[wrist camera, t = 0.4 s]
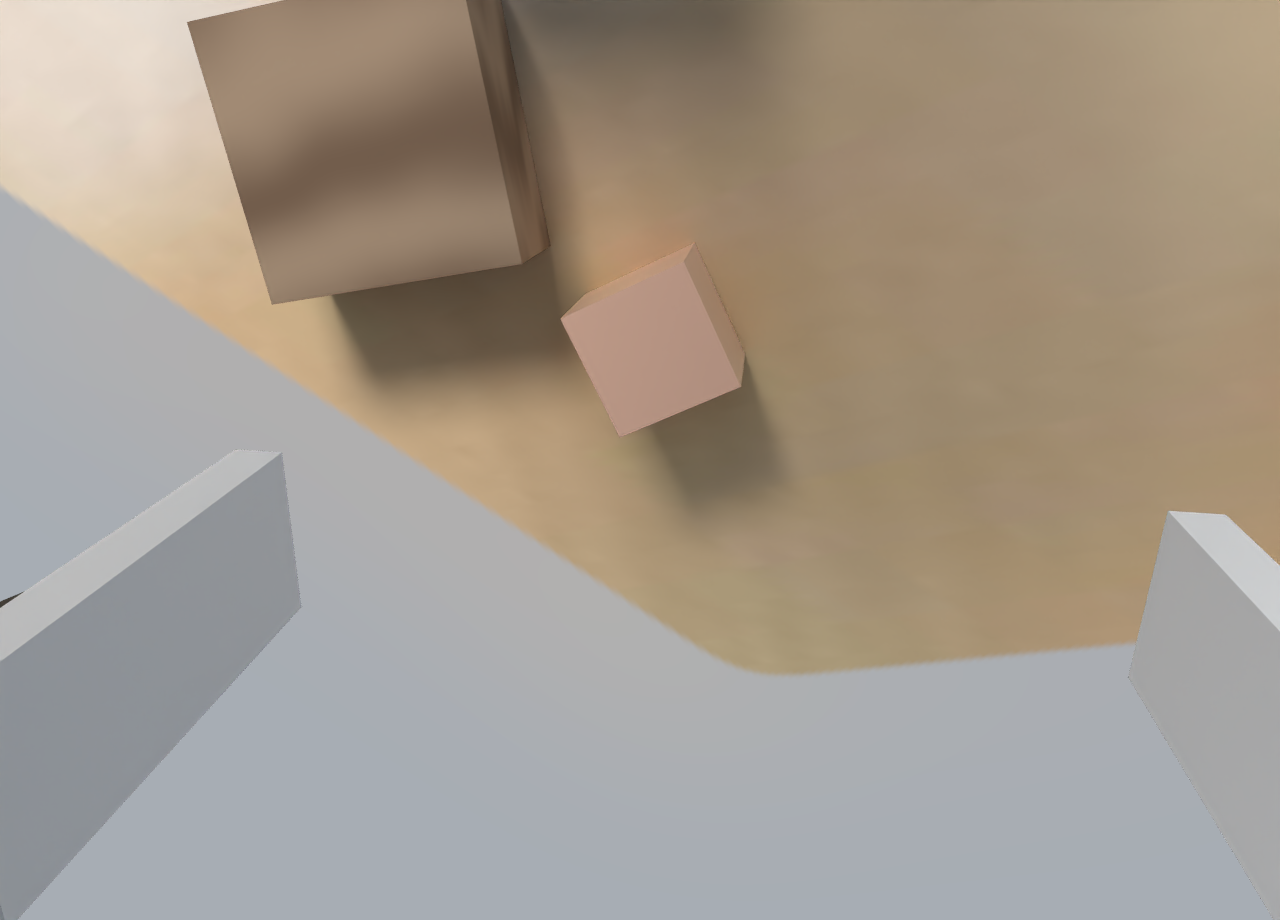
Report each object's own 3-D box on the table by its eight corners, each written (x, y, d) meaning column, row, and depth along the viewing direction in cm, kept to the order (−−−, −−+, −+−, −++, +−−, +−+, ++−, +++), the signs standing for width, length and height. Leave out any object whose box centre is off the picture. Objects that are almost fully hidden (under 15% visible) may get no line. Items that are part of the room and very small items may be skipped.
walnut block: (258, 31, 38) (187, 22, 33) (498, -21, 36) (457, -39, 32) (328, 281, 41) (272, 304, 37) (551, 244, 40) (521, 264, 35)
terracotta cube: (585, 293, 40) (560, 318, 35) (694, 242, 39) (683, 261, 34) (637, 399, 41) (619, 437, 37) (745, 353, 40) (740, 386, 35)
